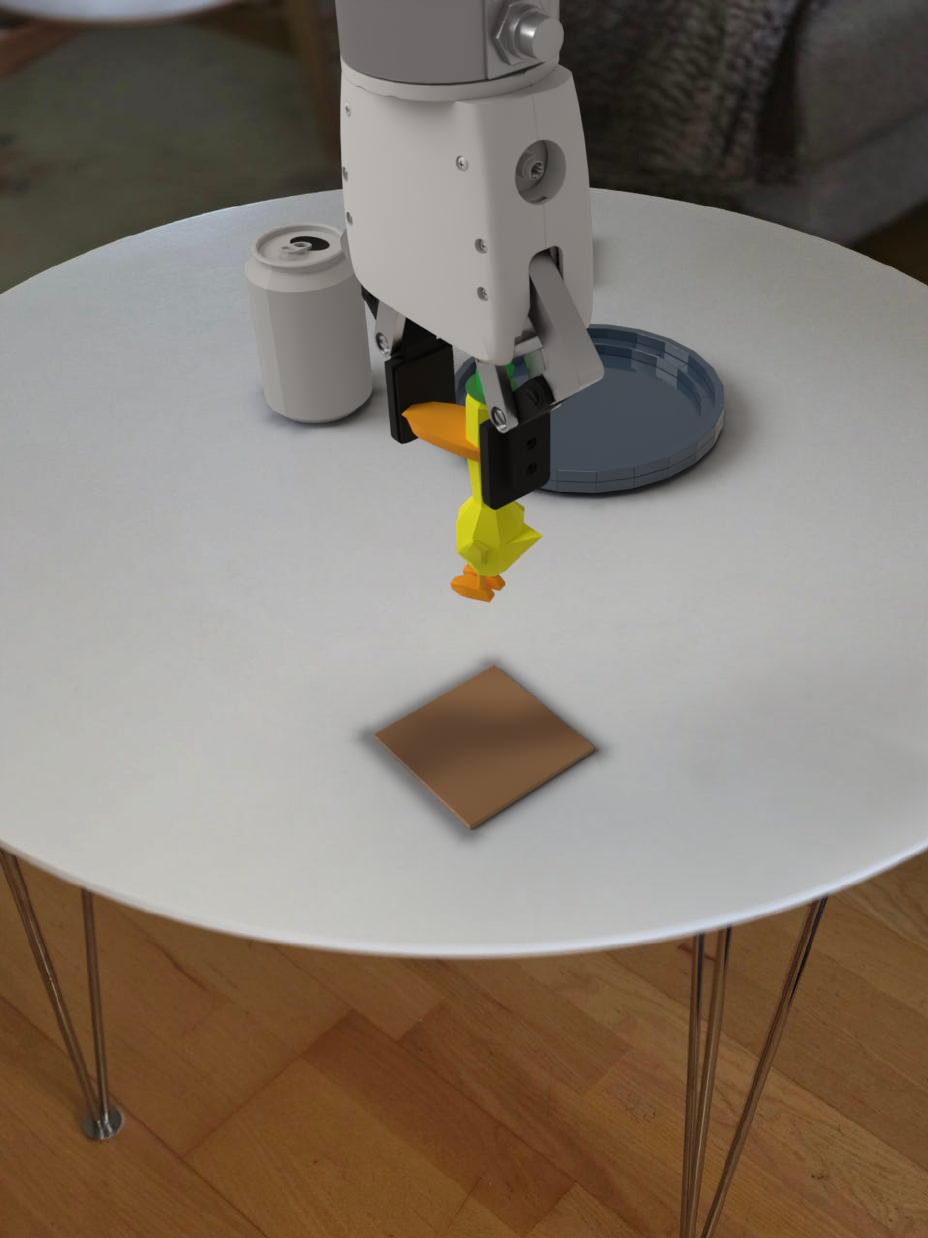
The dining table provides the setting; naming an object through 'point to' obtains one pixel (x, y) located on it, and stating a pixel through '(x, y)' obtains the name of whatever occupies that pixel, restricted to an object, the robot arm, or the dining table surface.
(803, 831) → the dining table surface
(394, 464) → the dining table surface
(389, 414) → the robot arm
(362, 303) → the can
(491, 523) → the toy figure
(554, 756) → the coaster
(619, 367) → the plate
